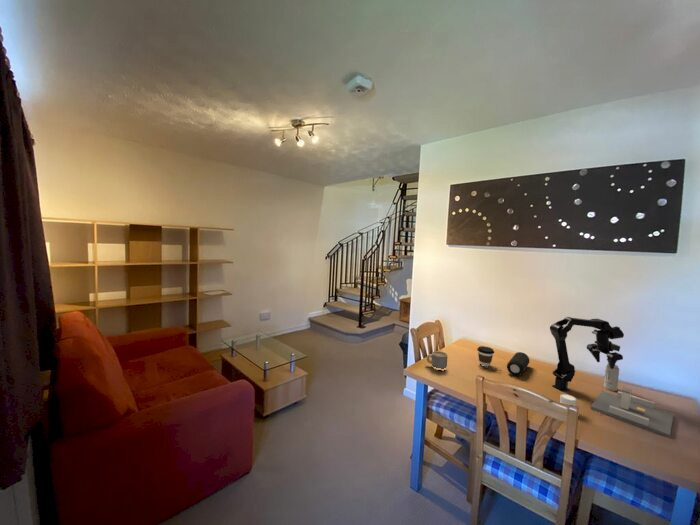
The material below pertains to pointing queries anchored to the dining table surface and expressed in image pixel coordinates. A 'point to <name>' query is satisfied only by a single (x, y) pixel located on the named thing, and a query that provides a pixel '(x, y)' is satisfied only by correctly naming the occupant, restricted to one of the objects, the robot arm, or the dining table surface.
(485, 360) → the coffee cup
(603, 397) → the breaker panel
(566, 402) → the white cylinder
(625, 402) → the beige rectangular block
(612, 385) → the energy drink can
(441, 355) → the coffee mug
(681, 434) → the dining table surface
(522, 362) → the portable speaker
